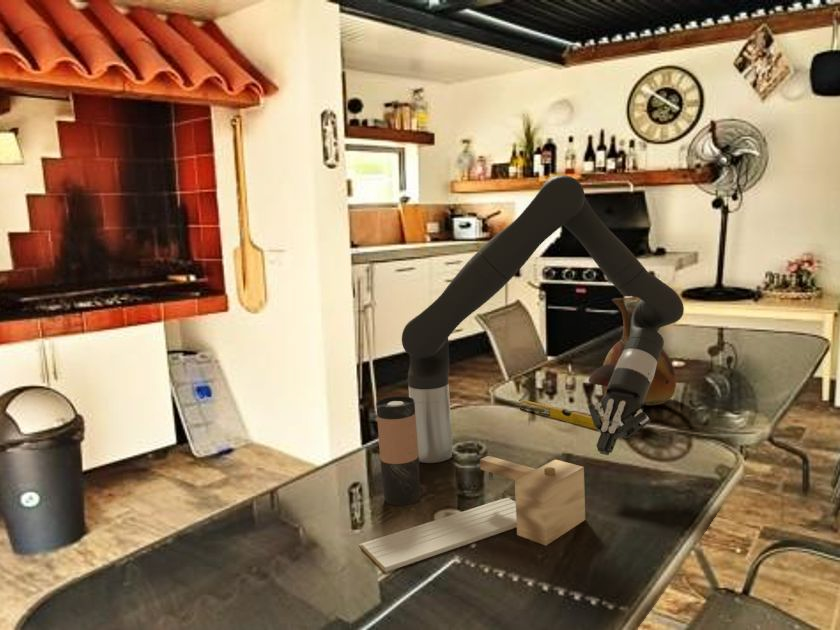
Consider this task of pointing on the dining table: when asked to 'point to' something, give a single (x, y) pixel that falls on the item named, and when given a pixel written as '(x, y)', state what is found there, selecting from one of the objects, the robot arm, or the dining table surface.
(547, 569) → the dining table surface
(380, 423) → the travel mug
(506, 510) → the baseboard
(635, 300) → the ceramic pitcher
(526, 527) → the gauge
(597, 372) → the decorative mushroom
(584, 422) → the spirit level
